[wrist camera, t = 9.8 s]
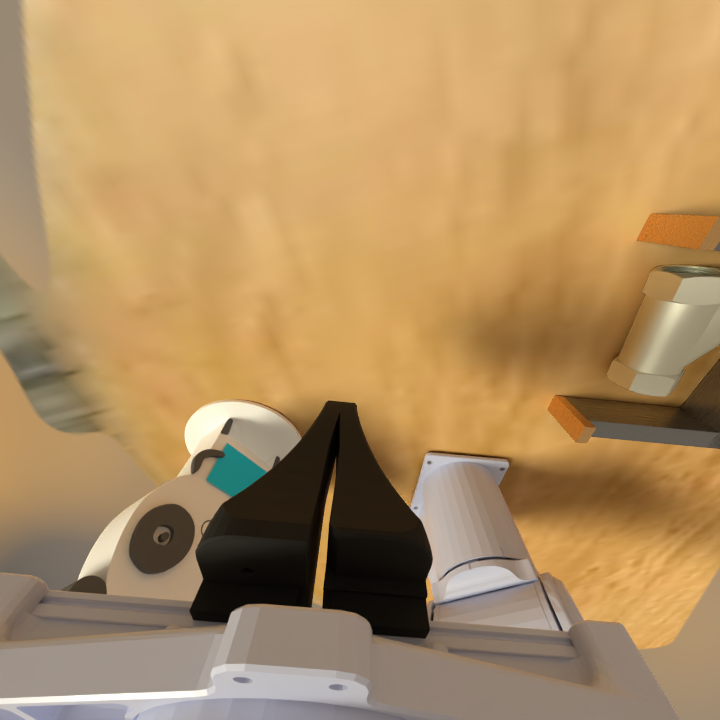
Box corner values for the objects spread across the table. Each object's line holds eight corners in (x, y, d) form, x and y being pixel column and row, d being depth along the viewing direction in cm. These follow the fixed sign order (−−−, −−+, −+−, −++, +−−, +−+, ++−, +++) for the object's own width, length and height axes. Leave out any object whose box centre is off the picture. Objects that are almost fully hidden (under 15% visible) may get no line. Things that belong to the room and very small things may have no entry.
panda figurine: (332, 459, 28) (300, 684, 15) (255, 501, 32) (175, 712, 19) (240, 377, 24) (80, 592, 11) (162, 436, 27) (-29, 652, 14)
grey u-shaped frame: (686, 422, 25) (735, 457, 21) (547, 409, 24) (575, 442, 21) (846, 235, 17) (959, 242, 14) (650, 213, 17) (718, 216, 14)
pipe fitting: (737, 259, 19) (637, 266, 19) (824, 271, 15) (703, 279, 15) (678, 364, 23) (595, 370, 23) (738, 392, 19) (640, 400, 19)
